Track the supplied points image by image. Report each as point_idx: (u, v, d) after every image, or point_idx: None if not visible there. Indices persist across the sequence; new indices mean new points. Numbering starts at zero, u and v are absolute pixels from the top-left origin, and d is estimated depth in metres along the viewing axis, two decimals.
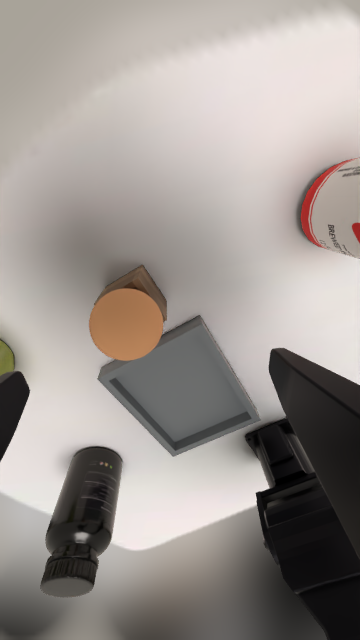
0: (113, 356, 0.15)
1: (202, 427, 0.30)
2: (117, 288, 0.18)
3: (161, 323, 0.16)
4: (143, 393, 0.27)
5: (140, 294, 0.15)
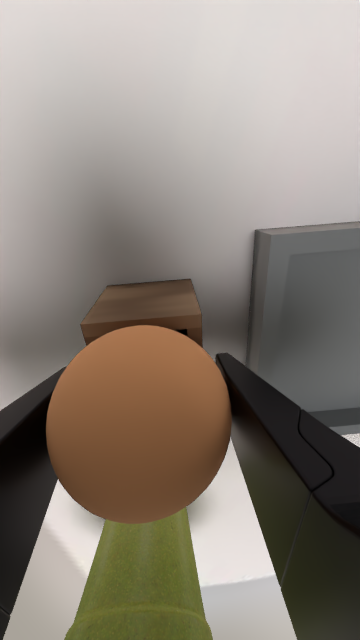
0: (174, 512, 0.06)
1: None
2: None
3: (169, 357, 0.05)
4: (327, 396, 0.15)
5: (76, 359, 0.06)
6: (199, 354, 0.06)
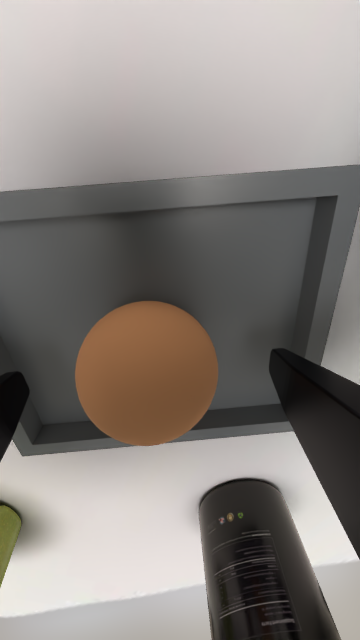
0: (173, 439, 0.07)
1: (283, 340, 0.11)
2: None
3: (169, 319, 0.07)
4: None
5: (97, 324, 0.08)
6: (192, 320, 0.08)
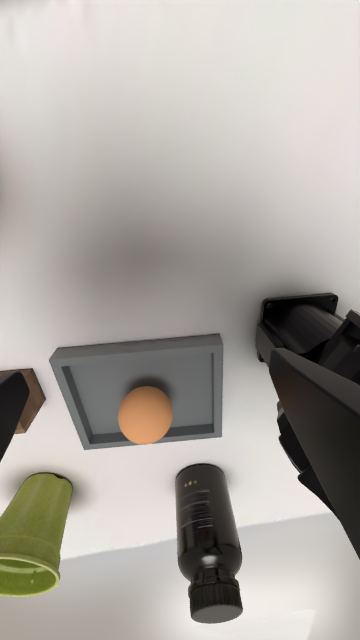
0: (155, 441, 0.21)
1: (207, 395, 0.25)
2: None
3: (152, 399, 0.20)
4: None
5: (126, 400, 0.21)
6: (161, 397, 0.21)
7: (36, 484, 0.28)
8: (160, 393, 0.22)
